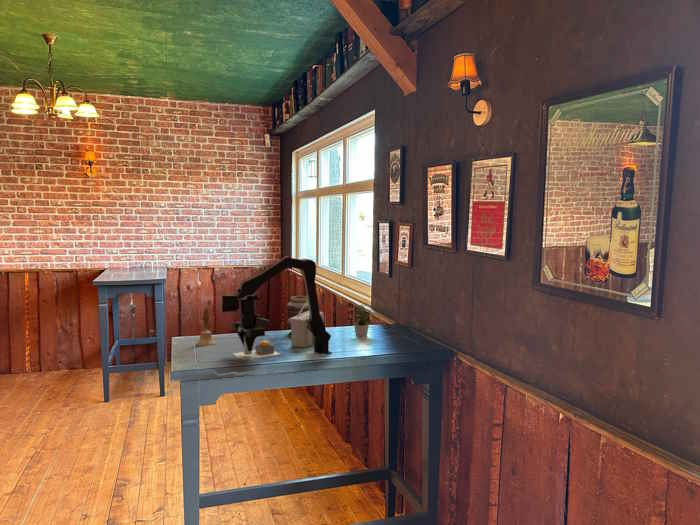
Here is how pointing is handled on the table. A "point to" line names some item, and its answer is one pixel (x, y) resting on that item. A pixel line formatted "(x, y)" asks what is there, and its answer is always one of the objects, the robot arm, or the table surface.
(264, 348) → the button housing
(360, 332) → the house plant
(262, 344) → the button
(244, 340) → the sage marker
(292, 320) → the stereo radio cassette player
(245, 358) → the board
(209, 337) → the hand bell
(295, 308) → the apothecary jar
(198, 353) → the table surface
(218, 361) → the table surface
